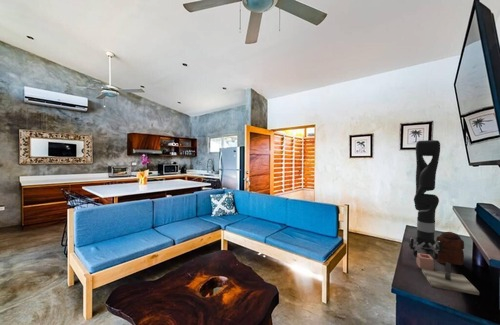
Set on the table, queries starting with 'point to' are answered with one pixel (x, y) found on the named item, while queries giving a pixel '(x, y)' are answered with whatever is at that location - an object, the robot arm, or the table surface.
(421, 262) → the bead
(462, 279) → the peg board
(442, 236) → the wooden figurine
